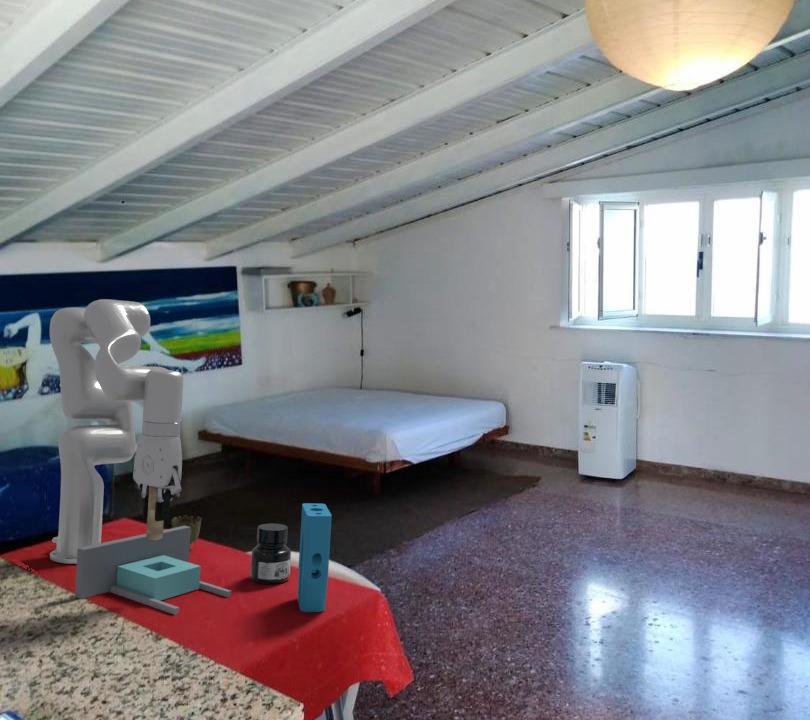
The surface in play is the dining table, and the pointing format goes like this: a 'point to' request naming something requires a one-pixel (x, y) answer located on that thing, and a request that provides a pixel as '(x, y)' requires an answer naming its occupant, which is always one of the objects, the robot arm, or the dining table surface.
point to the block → (314, 557)
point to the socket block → (159, 577)
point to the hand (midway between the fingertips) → (155, 517)
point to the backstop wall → (104, 559)
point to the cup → (190, 523)
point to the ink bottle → (271, 555)
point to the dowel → (153, 517)
